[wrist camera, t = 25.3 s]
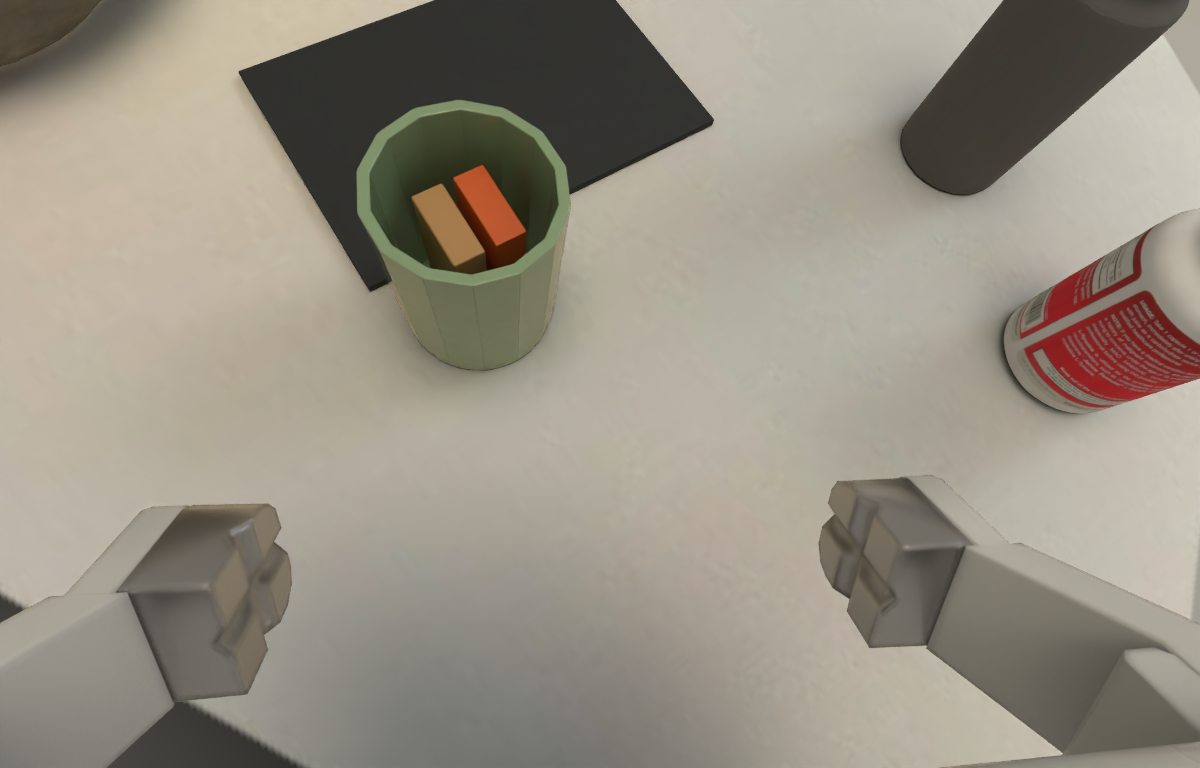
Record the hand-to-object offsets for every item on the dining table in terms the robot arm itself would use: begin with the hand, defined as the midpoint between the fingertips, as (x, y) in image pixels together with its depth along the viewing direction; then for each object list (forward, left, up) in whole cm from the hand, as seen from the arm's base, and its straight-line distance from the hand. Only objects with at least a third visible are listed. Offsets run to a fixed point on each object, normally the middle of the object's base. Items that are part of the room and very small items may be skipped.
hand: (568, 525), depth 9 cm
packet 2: (+4, +12, -16) cm, 20 cm away
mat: (+10, +22, -16) cm, 29 cm away
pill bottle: (+27, -5, -17) cm, 32 cm away
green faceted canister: (+4, +12, -16) cm, 20 cm away
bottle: (+31, +7, -17) cm, 35 cm away
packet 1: (+3, +12, -16) cm, 20 cm away
